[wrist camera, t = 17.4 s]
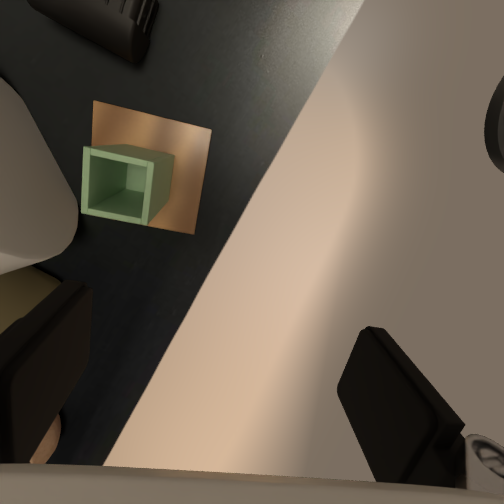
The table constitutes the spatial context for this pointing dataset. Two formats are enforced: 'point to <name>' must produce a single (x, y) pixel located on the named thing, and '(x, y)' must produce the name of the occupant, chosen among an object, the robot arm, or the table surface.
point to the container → (22, 293)
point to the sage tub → (125, 182)
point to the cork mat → (167, 141)
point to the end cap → (106, 22)
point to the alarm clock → (30, 190)
